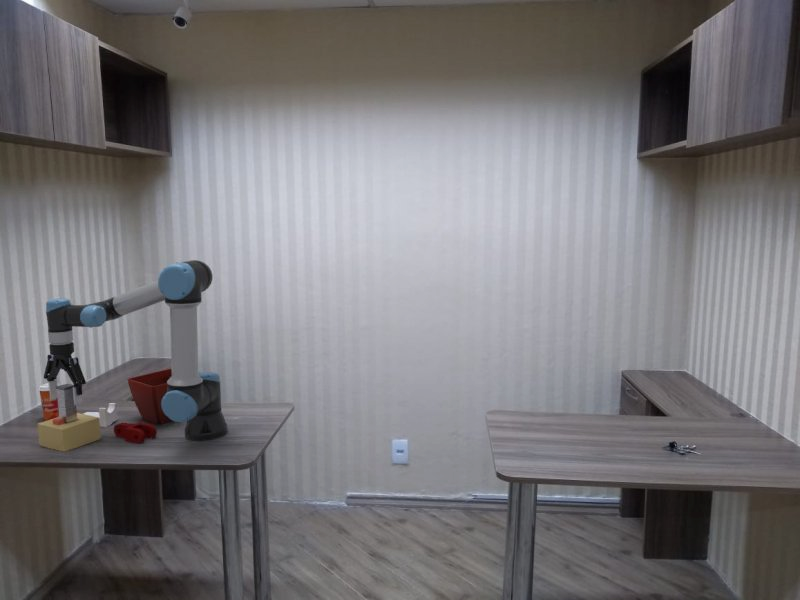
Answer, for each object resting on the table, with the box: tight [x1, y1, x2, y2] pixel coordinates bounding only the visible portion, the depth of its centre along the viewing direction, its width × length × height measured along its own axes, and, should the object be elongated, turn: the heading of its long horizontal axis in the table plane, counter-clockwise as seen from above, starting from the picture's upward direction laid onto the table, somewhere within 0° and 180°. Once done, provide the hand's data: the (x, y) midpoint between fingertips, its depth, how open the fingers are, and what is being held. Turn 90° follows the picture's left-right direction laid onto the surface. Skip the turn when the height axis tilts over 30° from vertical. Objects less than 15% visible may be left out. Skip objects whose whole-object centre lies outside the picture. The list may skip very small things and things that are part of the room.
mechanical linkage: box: [113, 421, 158, 445], centre depth 220 cm, size 16×7×5 cm, turn 67°
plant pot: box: [127, 368, 173, 425], centre depth 241 cm, size 19×19×17 cm
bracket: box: [83, 402, 119, 428], centre depth 235 cm, size 13×7×8 cm, turn 81°
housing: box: [37, 412, 102, 453], centre depth 216 cm, size 14×14×10 cm
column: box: [56, 383, 78, 424], centre depth 215 cm, size 5×5×21 cm
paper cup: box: [38, 382, 60, 421], centre depth 241 cm, size 8×8×14 cm
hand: (66, 401), depth 214 cm, fingers open, 13 cm apart
